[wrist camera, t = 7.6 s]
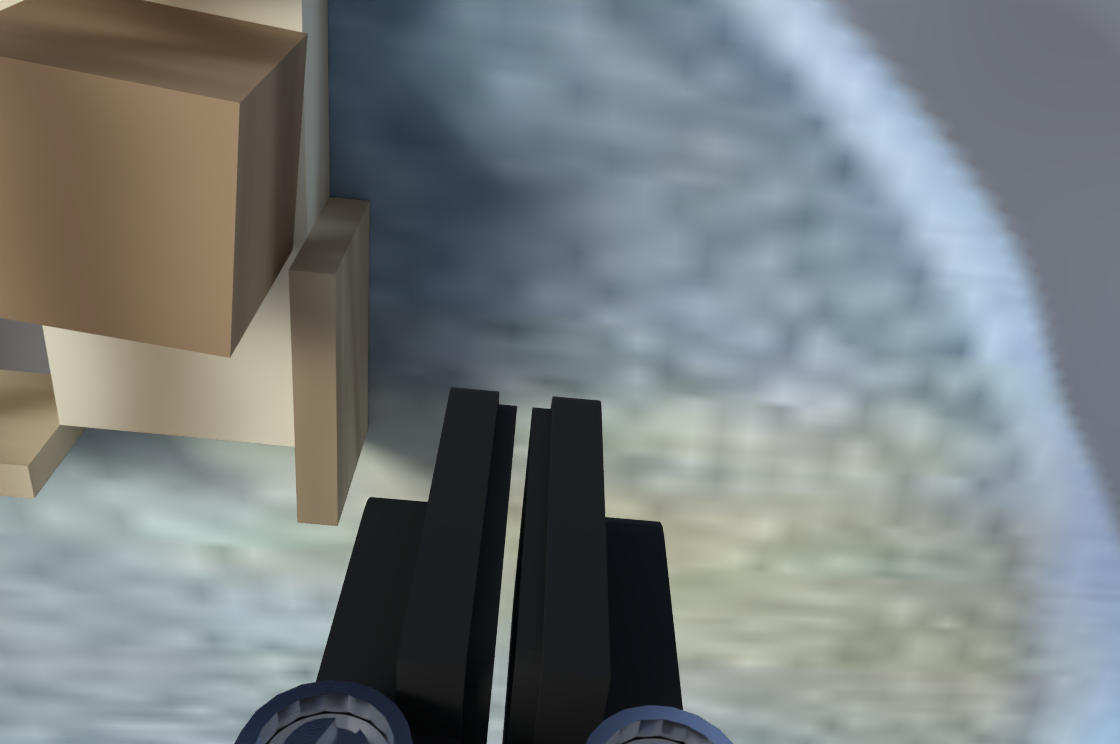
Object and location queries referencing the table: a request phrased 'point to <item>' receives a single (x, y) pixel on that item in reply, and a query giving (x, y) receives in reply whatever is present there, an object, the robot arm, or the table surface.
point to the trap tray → (260, 357)
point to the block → (145, 168)
